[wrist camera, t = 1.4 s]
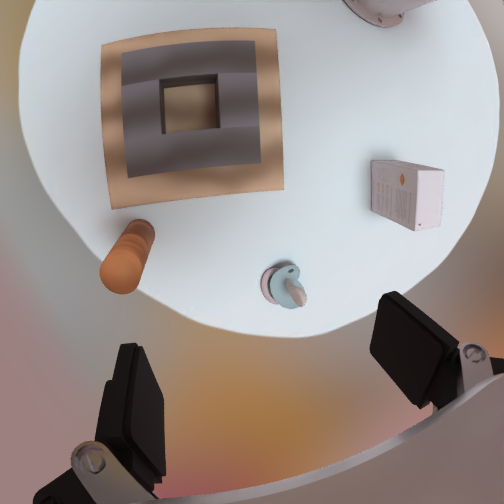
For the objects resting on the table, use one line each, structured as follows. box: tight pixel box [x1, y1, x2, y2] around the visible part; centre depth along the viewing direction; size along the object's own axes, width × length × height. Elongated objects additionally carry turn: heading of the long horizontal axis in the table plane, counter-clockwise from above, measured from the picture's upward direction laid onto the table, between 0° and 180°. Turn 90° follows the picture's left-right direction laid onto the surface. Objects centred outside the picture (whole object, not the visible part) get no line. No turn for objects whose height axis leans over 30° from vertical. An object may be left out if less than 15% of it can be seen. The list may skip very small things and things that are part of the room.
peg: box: [100, 219, 155, 294], centre depth 29 cm, size 4×4×12 cm
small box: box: [371, 160, 444, 231], centre depth 34 cm, size 8×6×10 cm
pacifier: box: [261, 264, 307, 309], centre depth 39 cm, size 7×6×6 cm
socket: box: [101, 28, 284, 210], centre depth 27 cm, size 22×22×6 cm
